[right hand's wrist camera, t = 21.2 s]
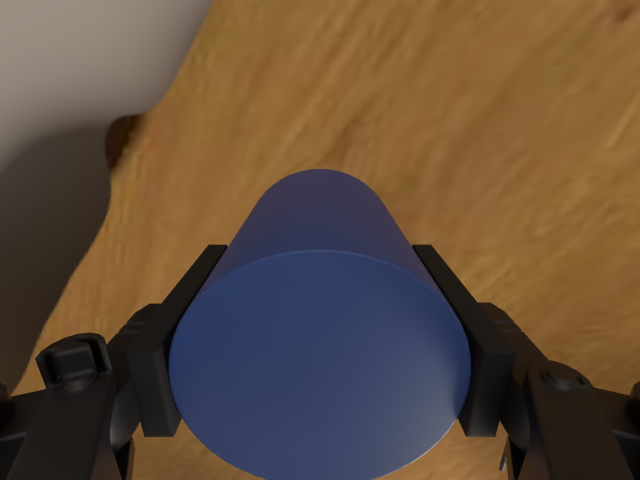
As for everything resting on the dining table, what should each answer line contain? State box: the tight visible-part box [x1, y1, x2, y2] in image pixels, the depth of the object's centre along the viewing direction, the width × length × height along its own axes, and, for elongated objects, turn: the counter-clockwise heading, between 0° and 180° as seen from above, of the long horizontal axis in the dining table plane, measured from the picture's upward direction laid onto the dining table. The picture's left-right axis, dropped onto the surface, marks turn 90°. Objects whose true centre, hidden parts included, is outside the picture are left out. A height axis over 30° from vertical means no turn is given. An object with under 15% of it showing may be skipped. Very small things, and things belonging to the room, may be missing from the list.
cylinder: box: [168, 169, 471, 480], centre depth 13 cm, size 8×8×10 cm
